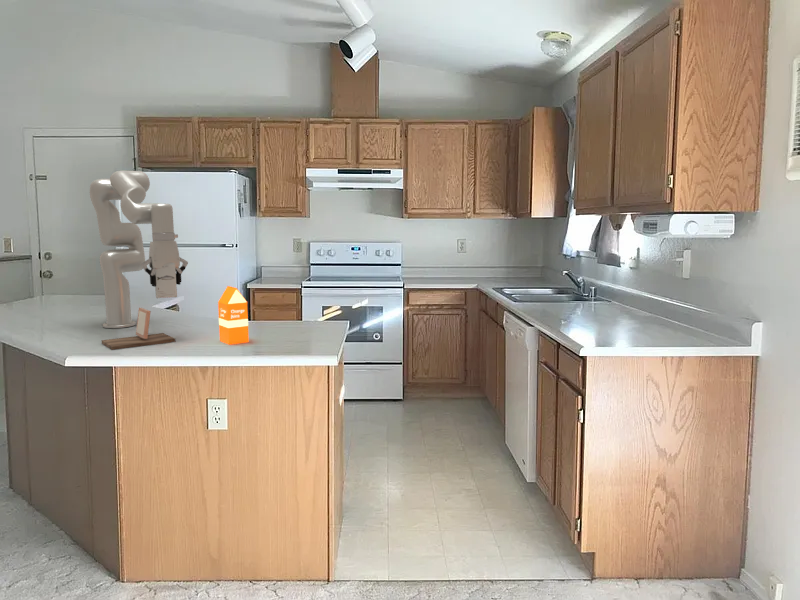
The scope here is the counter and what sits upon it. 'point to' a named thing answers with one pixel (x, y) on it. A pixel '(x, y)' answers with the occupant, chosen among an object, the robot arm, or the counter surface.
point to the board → (137, 341)
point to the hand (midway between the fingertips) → (166, 285)
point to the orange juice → (233, 317)
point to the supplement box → (166, 281)
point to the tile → (143, 323)
